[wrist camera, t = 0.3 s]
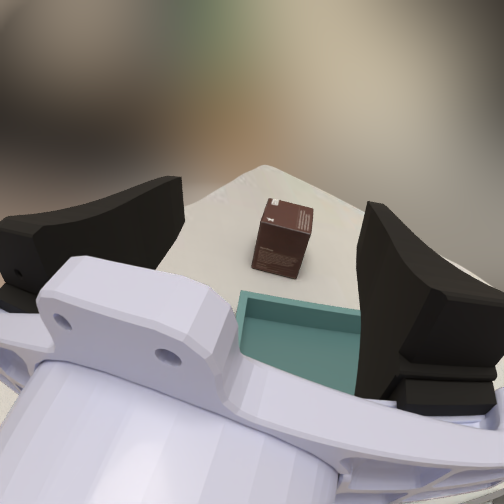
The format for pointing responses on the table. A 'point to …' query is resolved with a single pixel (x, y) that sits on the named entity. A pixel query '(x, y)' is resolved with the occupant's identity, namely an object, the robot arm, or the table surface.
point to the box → (282, 238)
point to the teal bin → (301, 338)
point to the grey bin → (489, 498)
